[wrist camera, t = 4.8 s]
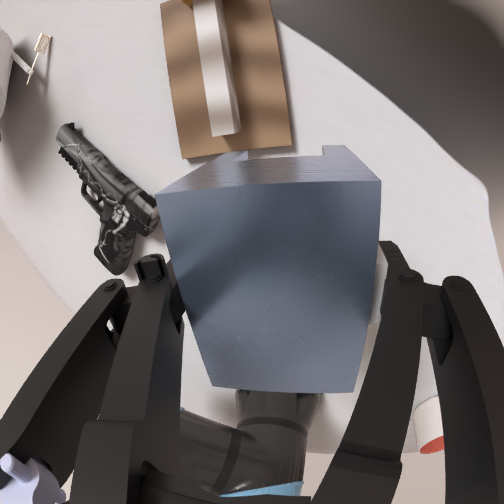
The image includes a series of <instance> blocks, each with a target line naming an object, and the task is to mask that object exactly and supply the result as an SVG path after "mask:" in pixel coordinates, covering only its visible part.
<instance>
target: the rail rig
mask: <svg viewBox="0 0 504 504" xmlns="http://www.w3.org/2000/svg"><path fill="white" fill-rule="evenodd" d="M160 8H161V18H162V27H163V36H164V45H165V53H166V60H167V68H168V75H169V82H170V89H171V95H172V102H173V108H174V114H175V120H176V126H177V132H178V137H179V143H180V149H181V154H182V159H187V158H193V157H199V156H205V155H212V154H218V153H226V152H233V151H241V150H249V149H258V148H268V147H278V146H290V145H292V137H291V129H290V121H289V113H288V105H287V98H286V91H285V84H284V77H283V71H282V64H281V58H280V52H279V46H278V40H277V35H276V29H275V24H274V18H273V13H272V8H271V3H270V0H170V1H167V2H164V3H161V4H160Z"/></svg>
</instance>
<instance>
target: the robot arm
mask: <svg viewBox="0 0 504 504" xmlns="http://www.w3.org/2000/svg"><path fill="white" fill-rule="evenodd" d="M134 266H135V269H136V272H137V275H138V278H139V281H140V282H139V284H138V286H133V287H127V288H126V287H125V284H124V282H123V280H121V279H110V280H107V281H106V282H104V283H103V284H101V285H100V286H99V287H98V288H97V290H96V291H95V292H94V293H93V294H92V295H91V297H90V298H89V299H88V300H87V301H86V302H85V304H84V305H83V306H82V307H81V308H80V310H79V311H78V312H77V313H76V314H75V316H74V317H73V318H72V319H71V321H70V322H69V323H68V324H67V326H66V327H65V328H64V329H63V331H62V332H61V333H60V334H59V336H58V337H57V338H56V340H55V341H54V342H53V344H52V345H51V347H50V348H49V349H48V350H47V352H46V353H45V354H44V356H43V357H42V358H41V360H40V361H39V363H38V364H37V365H36V367H35V368H34V370H33V371H32V372H31V374H30V375H29V377H28V378H27V380H26V381H25V383H24V384H23V386H22V387H21V389H20V390H19V392H18V393H17V395H16V397H15V398H14V399H13V401H12V402H11V404H10V406H9V407H8V409H7V410H6V412H5V414H4V415H3V417H2V419H1V420H0V501H1V503H2V504H55V503H58V504H391V502H392V499H393V497H394V494H395V491H396V488H397V485H398V482H399V479H400V475H401V472H402V463H401V461H400V457H401V453H402V449H403V445H404V442H405V438H406V433H407V429H408V425H409V420H410V416H411V411H412V406H413V400H414V395H415V389H416V382H417V375H418V368H419V360H420V350H421V339H422V336H423V337H427V342H428V346H429V350H430V355H431V359H432V364H433V369H434V374H435V379H436V385H437V391H438V397H439V403H440V411H441V418H442V427H443V437H444V450H445V472H446V473H445V474H446V494H445V495H446V496H445V504H504V347H503V345H502V342H501V340H500V338H499V336H498V333H497V331H496V329H495V327H494V325H493V323H492V321H491V319H490V317H489V315H488V313H487V311H486V309H485V307H484V305H483V303H482V301H481V299H480V298H479V296H478V294H477V292H476V290H475V289H474V287H473V285H472V284H471V283H470V282H469V281H468V280H466V279H465V278H463V277H460V276H448V277H446V278H444V280H443V283H442V286H438V285H432V284H428V283H425V282H424V279H423V276H422V275H421V274H420V273H419V272H417V271H415V270H412V269H410V268H409V266H408V264H407V262H406V260H405V258H404V257H403V255H402V253H401V251H400V249H399V247H398V246H397V245H396V244H394V243H393V242H392V241H378V253H377V263H376V272H375V280H374V288H373V295H372V302H371V309H370V315H369V321H368V324H371V323H379V317H380V313H381V322H380V326H379V330H378V334H377V338H376V341H375V345H374V349H373V352H372V356H371V359H370V363H369V366H368V369H367V373H366V376H365V379H364V382H363V385H362V388H361V391H360V394H359V397H358V400H357V403H356V405H355V408H354V411H353V413H352V416H351V419H350V421H349V424H348V426H347V429H346V431H345V434H344V436H343V439H342V441H341V443H340V445H339V448H338V449H337V451H336V453H335V455H334V457H333V459H332V461H331V464H330V466H329V468H328V470H327V472H326V474H325V476H324V478H323V480H322V482H321V484H320V486H319V488H318V490H317V492H316V493H315V495H314V497H313V499H312V501H311V496H300V492H301V488H302V485H303V473H304V465H305V455H306V445H307V434H308V429H309V427H310V425H311V423H312V421H313V419H314V417H315V414H316V412H317V410H318V408H319V405H320V393H289V392H269V391H255V390H243V389H237V390H236V406H237V415H238V426H237V429H235V428H232V427H229V426H226V425H223V424H221V423H218V422H215V421H212V420H209V419H207V418H204V417H201V416H199V415H196V414H194V413H191V412H189V411H186V410H184V408H183V407H180V394H181V371H182V352H183V337H184V321H183V318H182V315H183V313H184V312H185V310H186V309H185V306H184V302H183V299H182V296H181V293H180V289H179V286H178V283H177V279H176V276H175V272H174V269H173V265H172V262H171V259H170V260H169V262H168V263H167V264H166V263H165V260H164V256H163V255H161V254H150V255H147V256H144V257H142V258H140V259H138V260H137V261H136V262H135V263H134ZM186 313H187V312H186ZM187 316H188V315H187ZM188 319H189V318H188ZM108 320H110V322H111V324H112V326H113V329H112V330H111V331H110V330H109V329H108V327H107V325H106V324H107V322H108ZM99 414H100V415H99ZM98 416H99V418H98ZM97 418H98V419H97ZM73 470H74V472H73ZM72 472H73V478H72V485H71V492H70V499H69V501H66V493H65V492H64V491H63V490H62V489H60V488H61V487H62V486H63V485H64V483H65V482H66V481H67V479H68V478H69V476H70V475H71V473H72ZM65 501H66V502H65Z"/></svg>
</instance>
